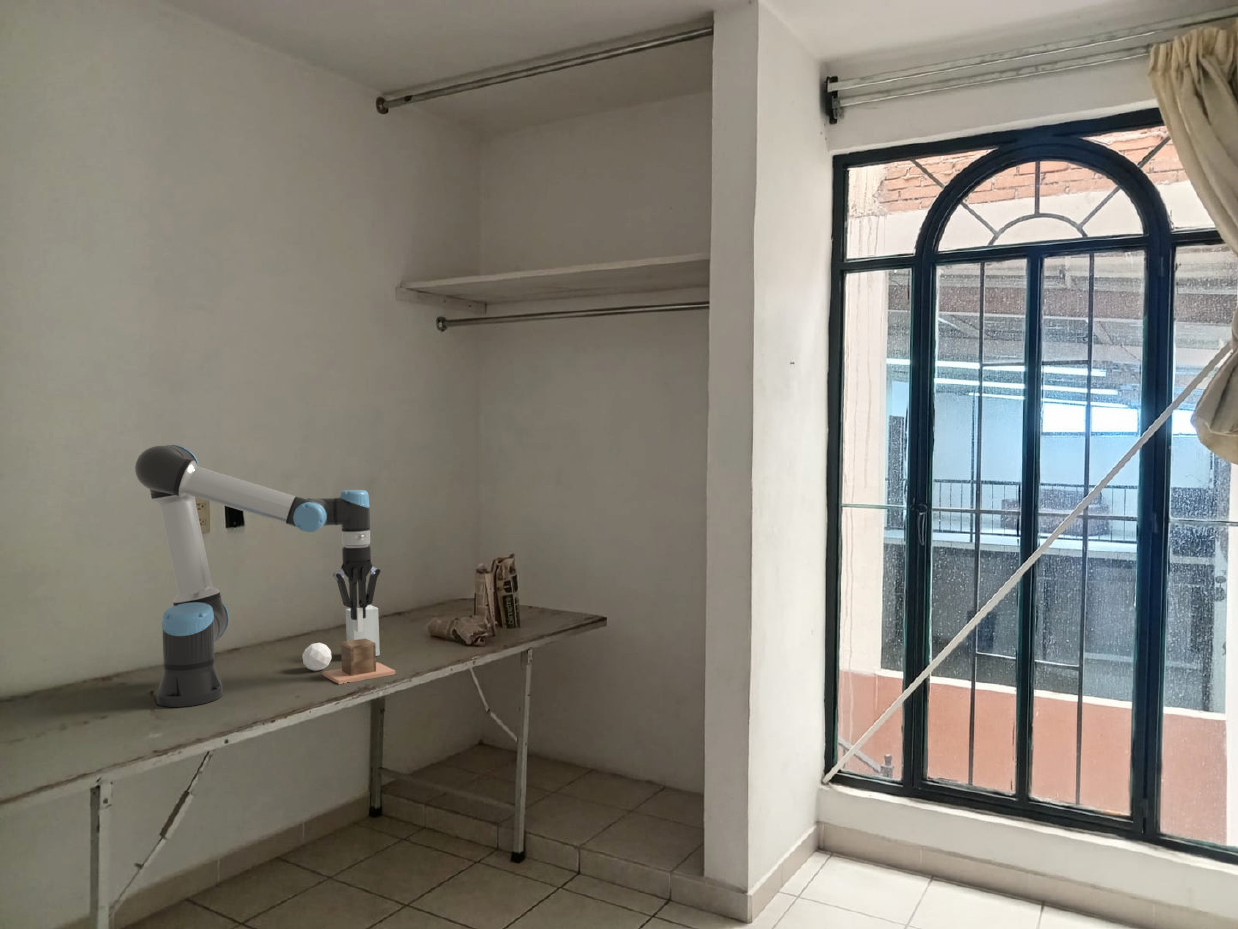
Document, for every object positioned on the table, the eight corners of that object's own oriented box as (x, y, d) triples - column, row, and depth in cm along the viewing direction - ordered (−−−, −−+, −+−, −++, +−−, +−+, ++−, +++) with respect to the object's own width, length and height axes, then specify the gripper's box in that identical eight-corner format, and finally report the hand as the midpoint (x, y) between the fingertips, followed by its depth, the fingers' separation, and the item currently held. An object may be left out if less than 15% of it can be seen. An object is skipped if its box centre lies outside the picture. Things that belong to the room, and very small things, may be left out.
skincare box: (372, 652, 276) (371, 604, 275) (380, 656, 271) (379, 607, 271) (345, 657, 271) (344, 607, 270) (353, 661, 266) (352, 610, 266)
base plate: (339, 684, 241) (338, 680, 241) (322, 675, 250) (322, 671, 250) (395, 674, 251) (395, 670, 251) (377, 665, 260) (377, 662, 260)
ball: (310, 679, 257) (301, 654, 260) (338, 666, 259) (328, 642, 262) (305, 672, 250) (295, 646, 253) (333, 659, 253) (323, 634, 256)
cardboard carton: (351, 675, 246) (350, 646, 245) (341, 670, 251) (341, 642, 251) (376, 671, 250) (375, 642, 250) (365, 666, 255) (365, 638, 255)
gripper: (338, 549, 242) (340, 636, 243) (384, 545, 250) (386, 629, 251) (328, 546, 248) (330, 632, 249) (373, 542, 256) (375, 625, 257)
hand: (358, 630), depth 250 cm, fingers closed
